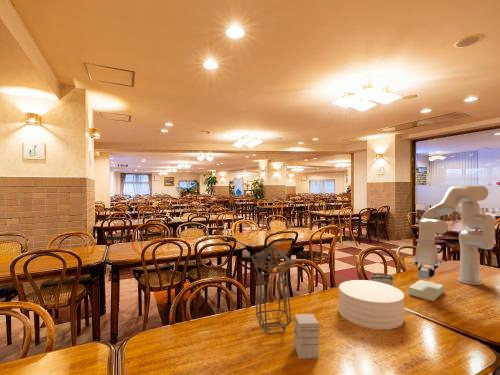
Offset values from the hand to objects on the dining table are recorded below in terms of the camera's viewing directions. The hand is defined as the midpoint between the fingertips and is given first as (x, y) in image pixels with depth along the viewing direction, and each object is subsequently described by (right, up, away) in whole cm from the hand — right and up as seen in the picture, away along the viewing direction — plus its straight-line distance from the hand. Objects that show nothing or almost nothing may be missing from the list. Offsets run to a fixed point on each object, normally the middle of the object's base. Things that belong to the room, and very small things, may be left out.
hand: (426, 275), depth 160 cm
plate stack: (-41, -11, -25) cm, 50 cm away
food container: (-25, -10, +2) cm, 27 cm away
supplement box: (-77, -11, -56) cm, 96 cm away
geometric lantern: (-89, -11, -39) cm, 97 cm away
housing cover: (0, +3, 0) cm, 3 cm away
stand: (0, -10, 0) cm, 10 cm away
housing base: (0, -1, 0) cm, 1 cm away
